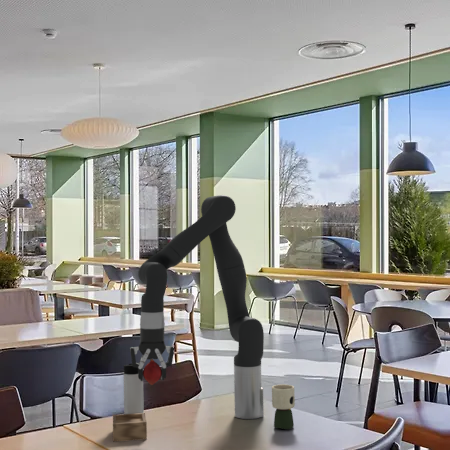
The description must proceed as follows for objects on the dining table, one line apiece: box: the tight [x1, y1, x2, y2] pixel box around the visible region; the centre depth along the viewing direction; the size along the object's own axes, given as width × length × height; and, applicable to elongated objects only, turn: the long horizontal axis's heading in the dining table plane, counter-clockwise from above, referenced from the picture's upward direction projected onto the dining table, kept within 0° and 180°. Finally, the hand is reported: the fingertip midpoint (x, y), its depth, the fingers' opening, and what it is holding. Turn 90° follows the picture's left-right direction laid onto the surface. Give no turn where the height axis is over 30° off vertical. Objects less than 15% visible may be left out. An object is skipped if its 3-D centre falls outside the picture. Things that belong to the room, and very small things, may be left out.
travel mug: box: [123, 362, 145, 414], centre depth 211 cm, size 6×7×20 cm
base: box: [112, 412, 148, 443], centre depth 199 cm, size 10×10×5 cm
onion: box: [143, 359, 162, 386], centre depth 202 cm, size 6×6×8 cm
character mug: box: [271, 384, 296, 430], centre depth 204 cm, size 11×7×13 cm, turn 169°
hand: (152, 380), depth 202 cm, fingers closed on onion, 6 cm apart
